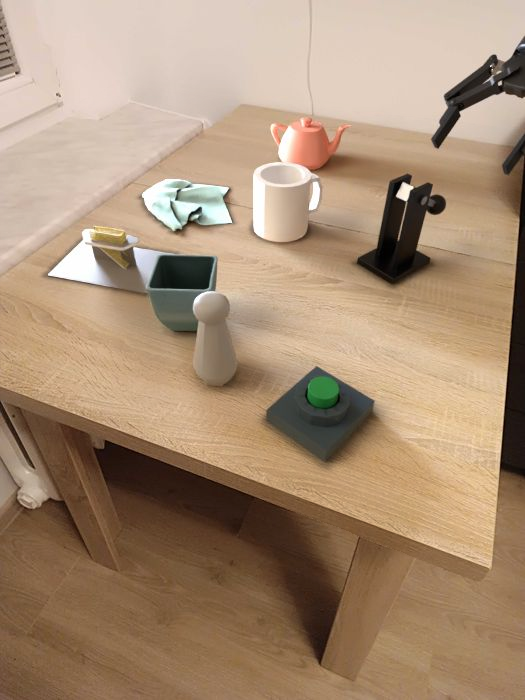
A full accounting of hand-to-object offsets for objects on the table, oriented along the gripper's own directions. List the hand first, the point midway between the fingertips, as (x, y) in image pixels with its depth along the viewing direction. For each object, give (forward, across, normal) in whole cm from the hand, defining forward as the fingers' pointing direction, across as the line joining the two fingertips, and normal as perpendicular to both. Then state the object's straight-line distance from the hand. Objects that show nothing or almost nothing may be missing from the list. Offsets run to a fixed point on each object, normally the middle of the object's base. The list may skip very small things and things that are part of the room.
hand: (468, 156), depth 84 cm
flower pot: (+47, +10, +25) cm, 54 cm away
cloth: (+33, +40, +11) cm, 53 cm away
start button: (+42, -16, +26) cm, 52 cm away
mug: (+26, +21, +4) cm, 34 cm away
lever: (+12, 0, +4) cm, 13 cm away
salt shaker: (+49, -2, +28) cm, 57 cm away
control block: (+45, -16, +24) cm, 53 cm away
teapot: (+9, +41, -13) cm, 44 cm away
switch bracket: (+21, 0, 0) cm, 21 cm away
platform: (+48, +30, +27) cm, 63 cm away
